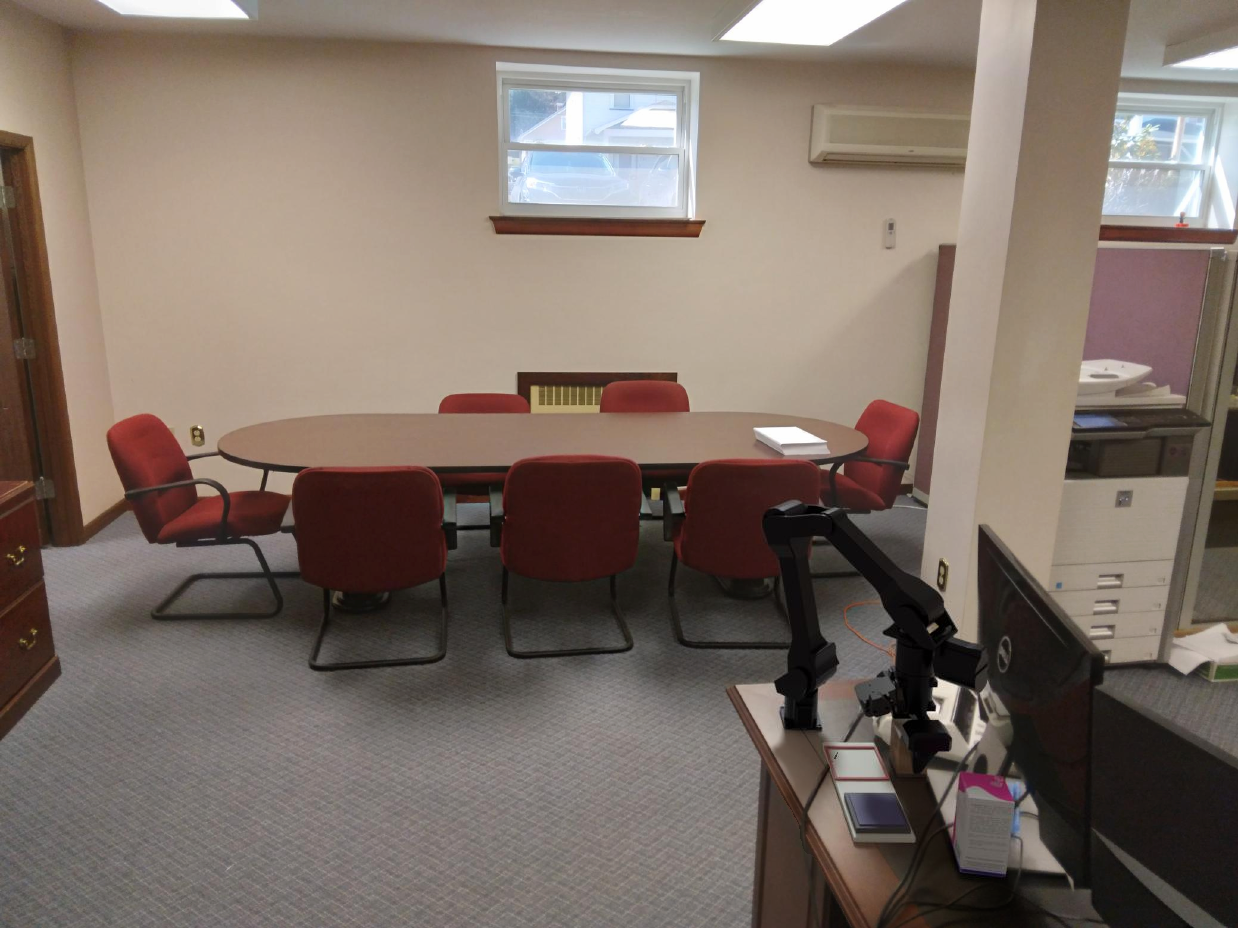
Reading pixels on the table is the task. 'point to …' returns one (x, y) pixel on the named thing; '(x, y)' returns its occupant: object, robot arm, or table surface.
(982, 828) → the supplement box
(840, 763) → the blotter board
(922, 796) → the table surface
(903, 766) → the stamp
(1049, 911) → the table surface
